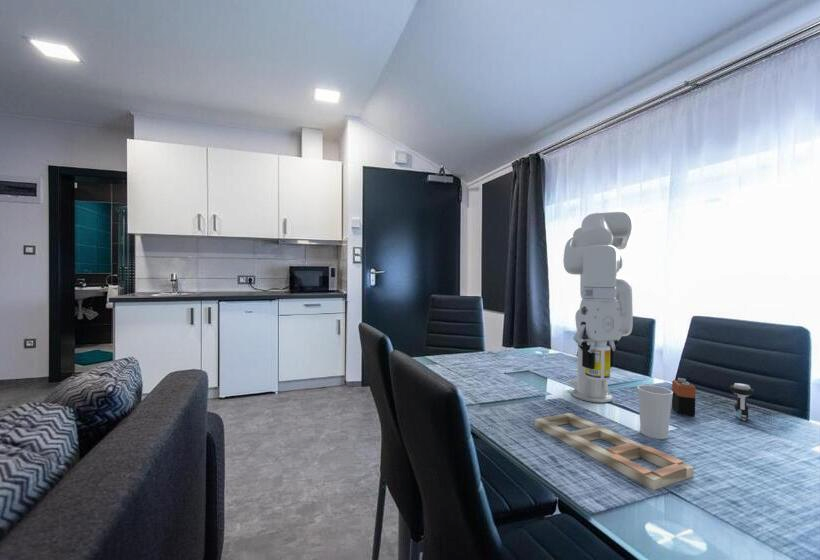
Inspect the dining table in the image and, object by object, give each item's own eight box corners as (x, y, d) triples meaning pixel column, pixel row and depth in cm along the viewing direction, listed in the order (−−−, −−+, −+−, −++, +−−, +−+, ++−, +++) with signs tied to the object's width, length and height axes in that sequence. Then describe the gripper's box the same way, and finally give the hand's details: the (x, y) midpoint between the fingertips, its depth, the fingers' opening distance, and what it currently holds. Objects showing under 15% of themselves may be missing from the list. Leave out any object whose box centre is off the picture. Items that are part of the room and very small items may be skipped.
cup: (661, 442, 93) (662, 396, 93) (630, 430, 100) (630, 387, 100) (678, 436, 97) (679, 391, 96) (647, 425, 104) (647, 383, 103)
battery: (687, 409, 117) (688, 378, 117) (695, 416, 111) (696, 384, 111) (671, 407, 119) (671, 376, 118) (678, 414, 112) (679, 382, 112)
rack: (534, 426, 102) (535, 418, 102) (569, 419, 108) (569, 411, 108) (653, 490, 72) (653, 478, 72) (693, 476, 77) (693, 465, 77)
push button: (756, 424, 106) (757, 389, 105) (732, 419, 109) (732, 386, 108) (751, 416, 111) (751, 384, 111) (728, 412, 114) (728, 381, 114)
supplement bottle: (605, 376, 94) (606, 336, 93) (613, 382, 88) (614, 339, 88) (582, 374, 94) (582, 335, 94) (588, 380, 89) (589, 338, 89)
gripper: (585, 295, 84) (584, 373, 84) (637, 295, 91) (635, 367, 91) (561, 294, 91) (559, 366, 91) (610, 293, 98) (609, 361, 98)
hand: (597, 366), depth 91 cm, fingers closed on supplement bottle, 5 cm apart
